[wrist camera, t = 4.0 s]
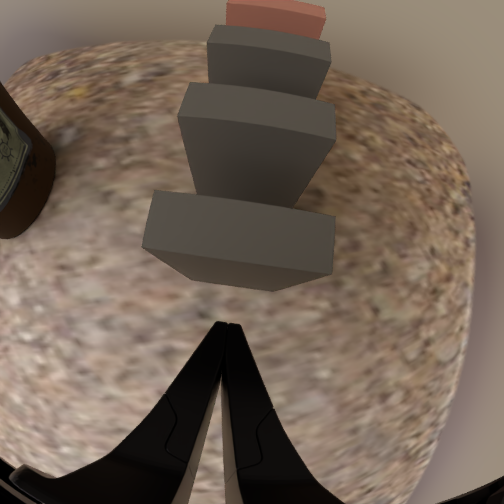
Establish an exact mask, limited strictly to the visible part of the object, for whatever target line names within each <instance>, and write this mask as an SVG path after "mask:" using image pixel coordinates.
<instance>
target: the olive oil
mask: <svg viewBox="0 0 504 504" xmlns="http://www.w3.org/2000/svg"><path fill="white" fill-rule="evenodd" d="M54 174H55V155H54V151H53V149H52V147H51V145H50V144H49V143H48V142H47V140H46V139H45V138H44V137H43V136H42V135H41V134H40V132H39V131H38V130H37V129H36V128H35V126H34V125H33V124H32V123H31V122H30V121H29V119H28V118H27V117H26V116H25V114H24V113H23V112H22V111H21V109H20V108H19V107H18V105H17V104H16V103H15V101H14V100H13V99H12V97H11V96H10V95H9V93H8V92H7V91H6V89H5V88H4V86H3V85H2V83H1V82H0V238H1V239H10V238H13V237H16V236H17V235H19V234H21V233H22V232H23V231H24V230H26V229H27V228H28V227H29V226H30V224H31V223H32V222H33V221H34V220H35V218H36V217H37V215H38V214H39V212H40V211H41V209H42V207H43V206H44V204H45V202H46V200H47V197H48V195H49V192H50V190H51V187H52V183H53V179H54Z"/></svg>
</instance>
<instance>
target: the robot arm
mask: <svg viewBox="0 0 504 504" xmlns="http://www.w3.org/2000/svg"><path fill="white" fill-rule="evenodd" d="M221 375H222V377H221ZM220 381H221V406H222V438H223V462H224V481H225V498H226V504H345V503H344V502H342V501H341V500H340V499H338V498H337V497H336V496H334V495H333V494H332V493H331V492H329V491H328V490H327V489H325V488H324V487H323V486H322V485H321V484H320V483H319V482H318V481H317V480H316V479H315V478H314V477H313V475H312V474H311V473H310V471H309V470H308V468H307V467H306V465H305V464H304V462H303V460H302V459H301V457H300V456H299V454H298V453H297V451H296V450H295V448H294V446H293V445H292V443H291V441H290V440H289V438H288V436H287V434H286V433H285V431H284V429H283V427H282V425H281V422H280V420H279V418H278V416H277V413H276V411H275V409H274V408H273V404H272V402H271V399H270V397H269V395H268V392H267V390H266V387H265V385H264V382H263V380H262V378H261V375H260V373H259V370H258V368H257V365H256V363H255V360H254V358H253V355H252V352H251V350H250V347H249V345H248V342H247V340H246V337H245V334H244V332H243V329H242V327H241V325H240V324H235V323H229V324H228V323H227V322H221V321H216V322H215V323H214V325H213V326H212V327H211V329H210V330H209V332H208V333H207V334H206V336H205V337H204V339H203V340H202V342H201V343H200V344H199V346H198V347H197V349H196V350H195V351H194V353H193V354H192V356H191V357H190V358H189V360H188V361H187V363H186V364H185V365H184V367H183V368H182V370H181V371H180V372H179V374H178V375H177V377H176V378H175V379H174V381H173V382H172V383H171V385H170V386H169V388H168V389H167V390H166V392H165V394H163V396H162V397H161V399H160V400H159V401H158V403H157V404H156V405H155V406H154V408H153V409H152V410H151V412H150V413H149V414H148V415H147V416H146V417H145V418H144V419H143V421H142V422H141V423H140V424H139V425H138V426H137V427H136V428H135V429H134V430H133V431H132V432H131V433H130V434H129V435H128V436H127V437H126V438H125V439H124V440H123V441H122V442H121V443H120V444H119V445H118V446H117V447H116V448H115V449H113V450H112V451H111V452H110V453H108V454H107V455H106V456H104V457H103V458H101V459H99V460H97V461H95V462H93V463H91V464H89V465H87V466H84V467H82V468H80V469H78V470H76V471H74V472H71V473H69V474H67V475H65V476H62V477H59V478H56V477H54V476H51V475H49V474H47V473H44V472H42V471H40V470H38V469H35V468H33V467H31V466H29V465H26V464H23V465H21V466H20V467H19V468H15V467H14V466H12V465H11V464H9V463H8V462H7V461H5V460H4V459H3V458H1V457H0V504H188V503H189V499H190V495H191V491H192V488H193V484H194V480H195V476H196V472H197V469H198V465H199V461H200V457H201V454H202V450H203V446H204V442H205V439H206V435H207V431H208V427H209V424H210V420H211V416H212V412H213V408H214V405H215V401H216V397H217V393H218V390H219V386H220ZM437 504H504V476H502V477H500V478H498V479H497V480H494V481H492V482H490V483H488V484H486V485H484V486H481V487H479V488H477V489H474V490H472V491H469V492H467V493H465V494H462V495H459V496H456V497H454V498H451V499H448V500H445V501H442V502H439V503H437Z"/></svg>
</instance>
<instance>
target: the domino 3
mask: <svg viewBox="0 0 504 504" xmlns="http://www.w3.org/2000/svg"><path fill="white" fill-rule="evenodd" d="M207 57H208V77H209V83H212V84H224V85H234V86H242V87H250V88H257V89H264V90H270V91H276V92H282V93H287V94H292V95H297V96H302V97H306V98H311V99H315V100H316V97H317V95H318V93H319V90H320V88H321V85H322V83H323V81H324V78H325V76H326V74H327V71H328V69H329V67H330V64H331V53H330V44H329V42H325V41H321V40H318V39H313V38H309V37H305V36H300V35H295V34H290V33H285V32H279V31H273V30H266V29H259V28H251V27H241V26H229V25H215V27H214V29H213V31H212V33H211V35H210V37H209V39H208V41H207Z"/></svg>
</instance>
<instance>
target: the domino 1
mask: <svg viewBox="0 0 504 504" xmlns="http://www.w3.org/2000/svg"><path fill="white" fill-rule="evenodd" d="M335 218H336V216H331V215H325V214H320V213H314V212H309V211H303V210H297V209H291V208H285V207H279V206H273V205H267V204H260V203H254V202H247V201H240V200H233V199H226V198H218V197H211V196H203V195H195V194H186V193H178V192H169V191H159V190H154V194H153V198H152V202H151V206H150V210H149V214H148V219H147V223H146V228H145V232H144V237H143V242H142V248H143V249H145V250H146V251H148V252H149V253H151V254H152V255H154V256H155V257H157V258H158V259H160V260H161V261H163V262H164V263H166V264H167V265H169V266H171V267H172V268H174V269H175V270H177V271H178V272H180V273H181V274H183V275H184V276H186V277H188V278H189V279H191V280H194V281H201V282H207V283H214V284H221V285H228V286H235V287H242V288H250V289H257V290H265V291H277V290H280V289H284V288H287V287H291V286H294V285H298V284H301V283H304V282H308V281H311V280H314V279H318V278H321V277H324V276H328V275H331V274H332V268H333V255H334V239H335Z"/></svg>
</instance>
